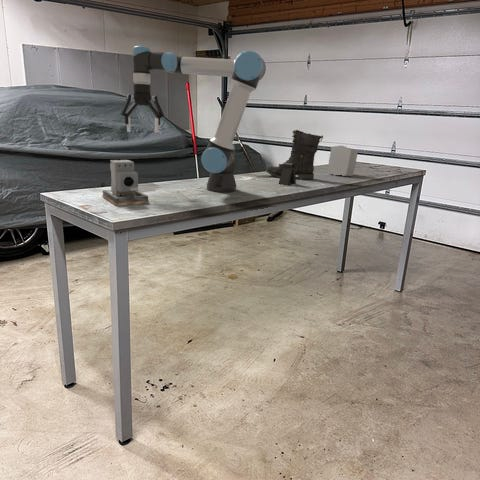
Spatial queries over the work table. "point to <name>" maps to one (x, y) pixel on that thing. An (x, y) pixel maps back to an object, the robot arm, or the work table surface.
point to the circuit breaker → (123, 178)
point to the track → (125, 199)
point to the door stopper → (287, 174)
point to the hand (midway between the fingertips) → (143, 132)
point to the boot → (300, 155)
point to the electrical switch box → (342, 161)
